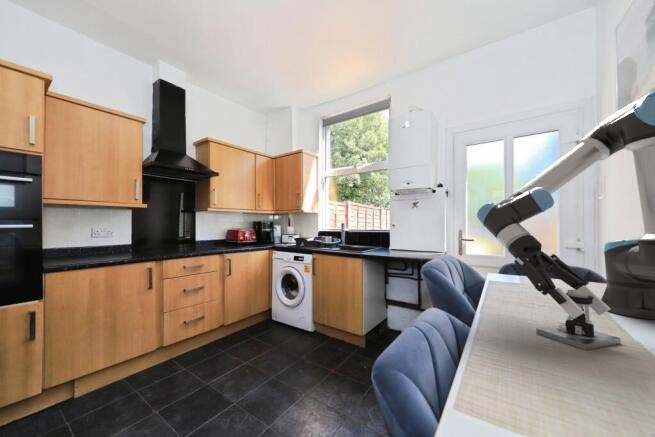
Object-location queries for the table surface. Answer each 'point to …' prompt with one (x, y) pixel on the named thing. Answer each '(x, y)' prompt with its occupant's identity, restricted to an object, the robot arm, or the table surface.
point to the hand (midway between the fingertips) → (592, 313)
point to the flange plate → (578, 337)
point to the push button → (582, 322)
